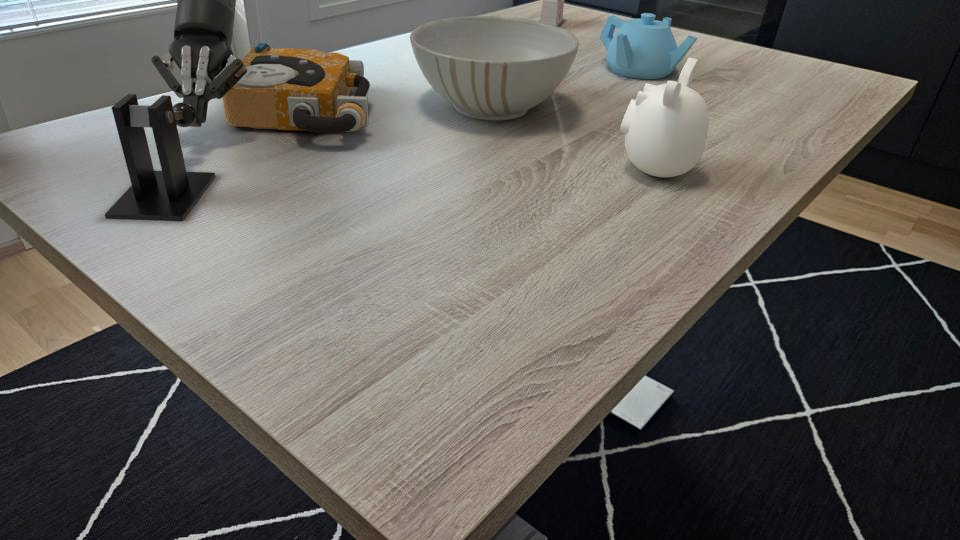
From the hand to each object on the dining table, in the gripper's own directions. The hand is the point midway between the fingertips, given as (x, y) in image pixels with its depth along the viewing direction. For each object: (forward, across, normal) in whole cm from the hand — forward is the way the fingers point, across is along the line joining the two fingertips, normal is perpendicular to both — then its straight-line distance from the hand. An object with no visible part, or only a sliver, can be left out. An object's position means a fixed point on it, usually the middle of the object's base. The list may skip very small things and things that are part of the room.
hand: (192, 124), depth 95 cm
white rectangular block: (-54, -56, -62) cm, 100 cm away
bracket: (+12, 0, +6) cm, 14 cm away
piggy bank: (+4, -64, -4) cm, 64 cm away
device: (-9, -11, -16) cm, 21 cm away
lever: (+4, 0, +8) cm, 8 cm away
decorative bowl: (-13, -41, -20) cm, 47 cm away
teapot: (-30, -71, -38) cm, 86 cm away
